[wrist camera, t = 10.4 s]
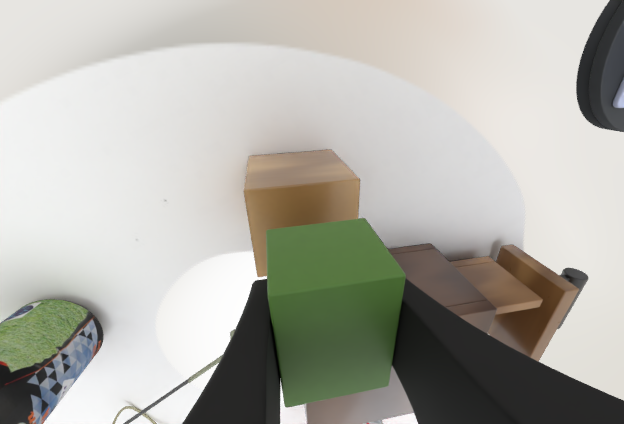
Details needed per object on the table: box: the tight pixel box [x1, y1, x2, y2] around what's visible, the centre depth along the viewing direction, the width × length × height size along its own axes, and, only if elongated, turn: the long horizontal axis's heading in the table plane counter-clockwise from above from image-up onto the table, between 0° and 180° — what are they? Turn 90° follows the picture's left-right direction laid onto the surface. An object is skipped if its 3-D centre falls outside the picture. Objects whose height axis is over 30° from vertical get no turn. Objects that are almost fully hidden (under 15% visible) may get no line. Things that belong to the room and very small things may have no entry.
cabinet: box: [304, 244, 497, 424], centre depth 22 cm, size 13×11×8 cm
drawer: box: [450, 245, 588, 361], centre depth 23 cm, size 16×9×6 cm, turn 92°
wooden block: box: [244, 150, 360, 277], centre depth 16 cm, size 6×5×6 cm
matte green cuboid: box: [266, 218, 406, 407], centre depth 9 cm, size 5×4×3 cm
